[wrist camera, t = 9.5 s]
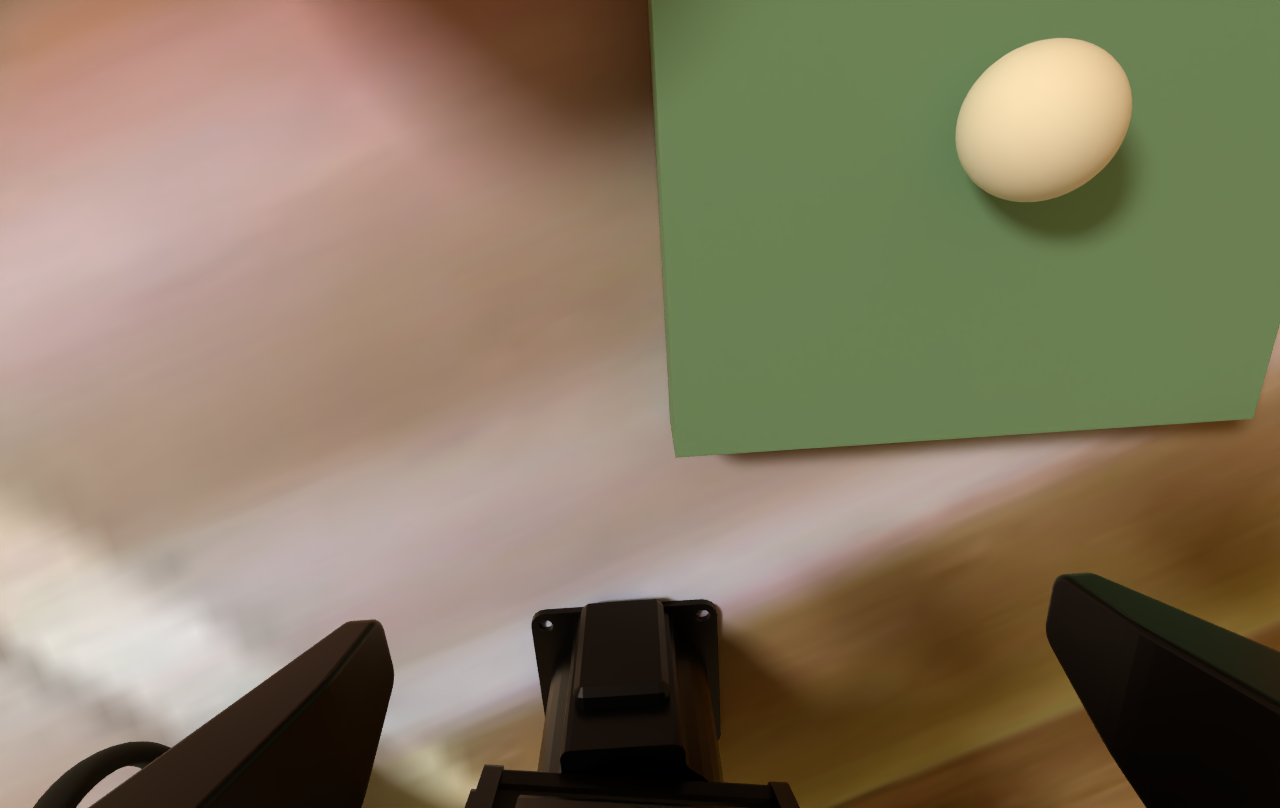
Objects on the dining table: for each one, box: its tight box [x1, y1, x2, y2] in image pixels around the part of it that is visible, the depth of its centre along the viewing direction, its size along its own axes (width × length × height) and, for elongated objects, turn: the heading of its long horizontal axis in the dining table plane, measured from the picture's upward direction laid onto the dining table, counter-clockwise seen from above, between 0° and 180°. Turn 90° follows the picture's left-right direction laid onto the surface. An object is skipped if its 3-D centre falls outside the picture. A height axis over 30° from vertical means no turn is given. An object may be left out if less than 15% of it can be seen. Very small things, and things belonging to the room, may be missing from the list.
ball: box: [955, 38, 1132, 202], centre depth 14 cm, size 3×3×3 cm
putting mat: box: [648, 0, 1280, 457], centre depth 16 cm, size 20×16×2 cm
